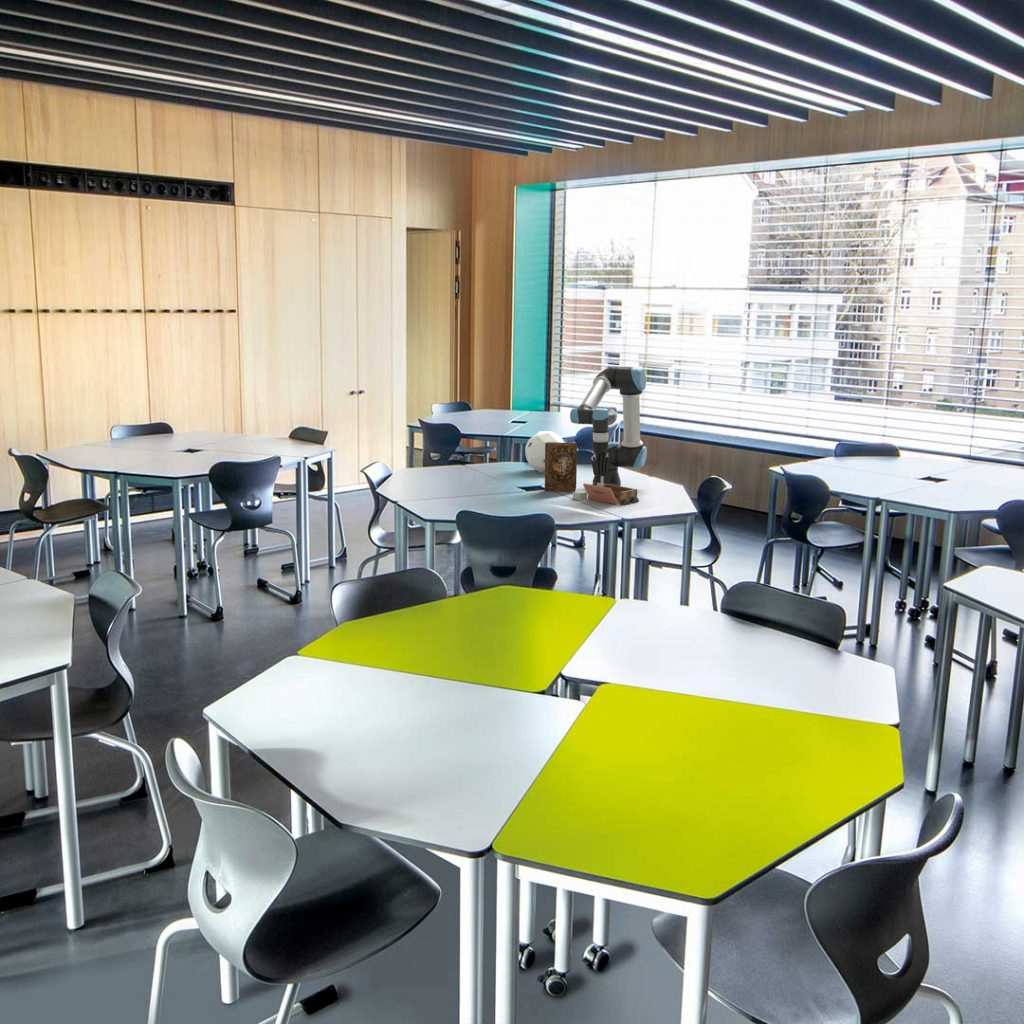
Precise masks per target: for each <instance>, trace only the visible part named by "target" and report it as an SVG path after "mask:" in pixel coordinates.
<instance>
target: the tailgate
mask: <svg viewBox="0 0 1024 1024" xmlns="http://www.w3.org/2000/svg"><path fill="white" fill-rule="evenodd" d="M582 485H583V488H584V490H585V492H587V496H588V495H589V497H590V498H589V499H590V500H592V501H596V502H602V503H605V504H606V503H607V504H612V505H619V504H618V502H617V500H616V498H615V496H614V494H613V492H612V489H611V488H607V487H601V486H596V485H593V484H590V483H583V484H582Z"/></svg>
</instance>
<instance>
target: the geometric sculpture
mask: <svg viewBox="0 0 1024 1024" xmlns="http://www.w3.org/2000/svg"><path fill="white" fill-rule="evenodd" d="M547 442H555V443H565V441H564V440H563V438H562V437H561V435H559V434H558V433H556V432H554V431H553V430H546V431H544V430H542V431H540V430H539V431H537V433H535V434H533V436H532V437H530V438H529V439H528V440H527V442H526V445H525V449H524V453H525V459H526V460H527V462H528V464H529V466H530V467H531V468H532V469H534V470H536V471H537V472H539V473H540V472H542V473H545V443H547Z"/></svg>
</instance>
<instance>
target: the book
mask: <svg viewBox="0 0 1024 1024" xmlns="http://www.w3.org/2000/svg"><path fill="white" fill-rule="evenodd" d="M577 463H578V444H577V442H564V443H555V442H547V443H545V472H544V492H546V493H547V492H552V493H553V492H557V493H573V492H575V491H577V490H576V489H577V473H578V471H577V468H578V467H577V465H578V464H577Z"/></svg>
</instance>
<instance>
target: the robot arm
mask: <svg viewBox="0 0 1024 1024" xmlns="http://www.w3.org/2000/svg"><path fill="white" fill-rule="evenodd" d="M646 387H647V377H646V373H645V371H644V369H643V368H642V367H636V366H609V367H607V368H605V369H603V370H602V371H600V372H599V373H598V374H597V375H596V376H595V377H594V379H593V382H592V386H591V388H590V389H589V391H588V393H587V394H586V396H584V399H583V401H582V402H581V404H580V405H579V407H575V408H571V410H570V413H569V419H570V422H571V423H572V424H577V425H592V449H593V455H592V456H590V457H589V459H590V462H591V467H592V473H593V479H592V485H597V486H601V487H603V484H611V485H616V486H621V485H622V480H621V477H620V474H619V468H628V469H642V468H643V467H644V465H645V463H646V460H647V455H648V448H647V446H644V442H643V441H642V439H641V421H640V420H641V416H640V414H641V413H640V411H641V409H640V406H641V405H640V403H641V402H640V396H641V395H642V394H643V391H645V390H646ZM610 390H619V395H621V397H622V418H623V421H622V422H623V440H622V442H621V443H620V442H618V441H609V428H610V427H609V426H612V425H613V424H615V423H616V421H617V419H618V415H617V412H616V410H614V409H612V408H605V407H598V406H599V404H600V402H601V401H602V400H603V398H604V396H605V394H606V393H608V392H609V391H610Z"/></svg>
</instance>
